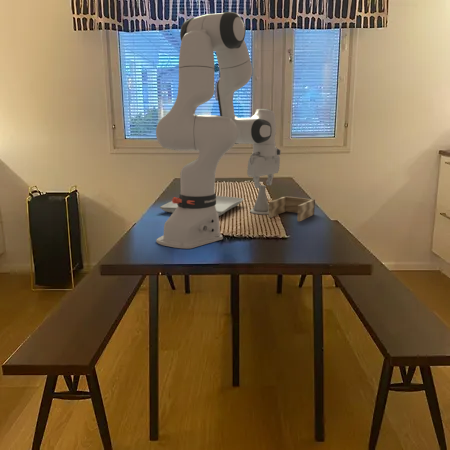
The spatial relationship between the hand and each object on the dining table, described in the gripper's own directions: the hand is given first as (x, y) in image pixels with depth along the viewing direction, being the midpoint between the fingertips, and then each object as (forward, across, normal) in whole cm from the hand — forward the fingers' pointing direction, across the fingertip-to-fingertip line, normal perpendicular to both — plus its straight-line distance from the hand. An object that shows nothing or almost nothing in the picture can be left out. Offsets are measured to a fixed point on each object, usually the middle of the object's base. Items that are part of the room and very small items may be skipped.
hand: (263, 186), depth 185 cm
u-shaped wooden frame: (+11, +1, -12) cm, 16 cm away
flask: (+10, +1, +1) cm, 10 cm away
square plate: (+11, -8, +24) cm, 27 cm away
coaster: (+11, +1, +1) cm, 11 cm away
